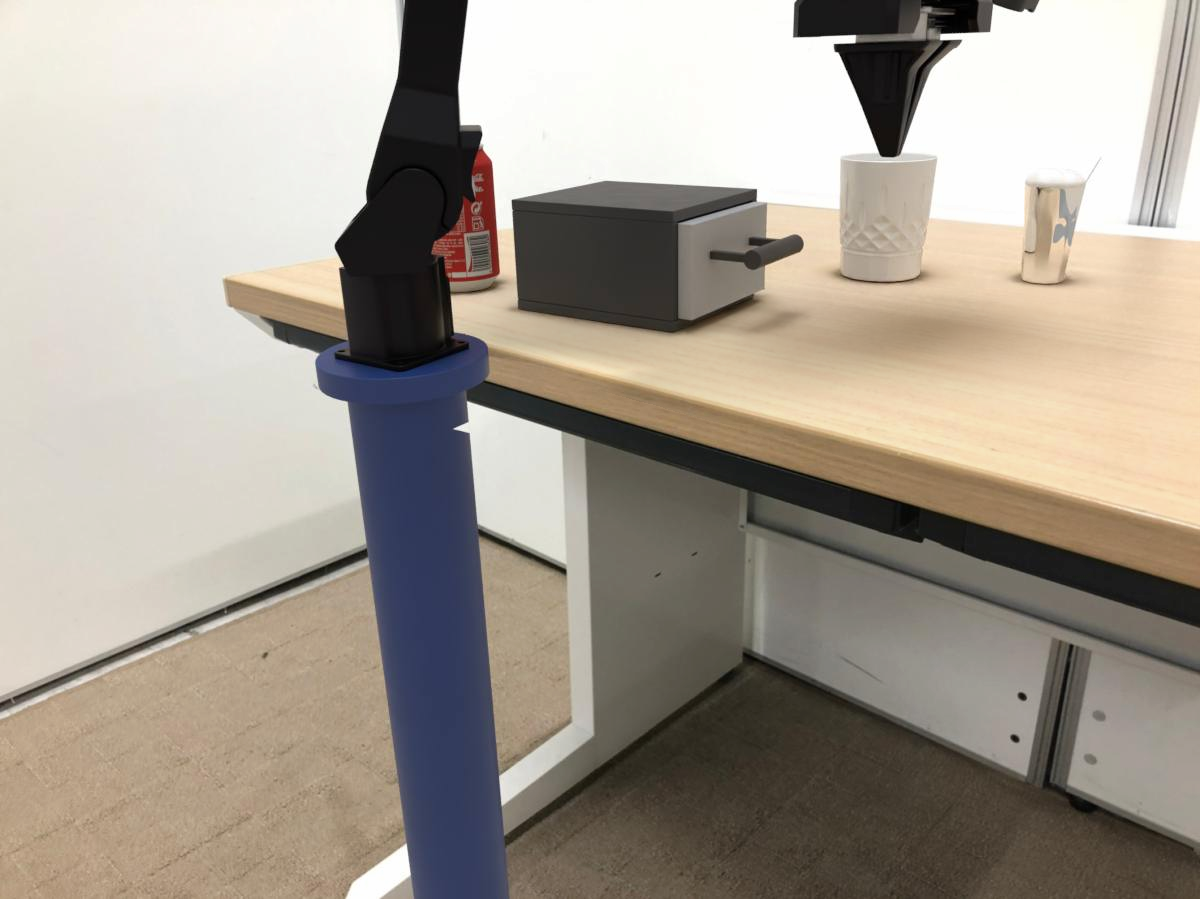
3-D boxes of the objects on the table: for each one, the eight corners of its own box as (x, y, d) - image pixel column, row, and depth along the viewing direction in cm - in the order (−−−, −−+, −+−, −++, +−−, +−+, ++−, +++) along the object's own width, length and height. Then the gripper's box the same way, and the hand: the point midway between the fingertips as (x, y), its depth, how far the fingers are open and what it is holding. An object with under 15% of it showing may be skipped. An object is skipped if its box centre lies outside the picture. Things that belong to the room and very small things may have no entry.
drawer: (813, 294, 77) (818, 205, 74) (744, 328, 68) (747, 228, 66) (625, 272, 86) (623, 193, 84) (544, 299, 78) (539, 212, 75)
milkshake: (1077, 288, 80) (1097, 160, 76) (1007, 282, 82) (1023, 158, 78) (1085, 277, 83) (1104, 154, 79) (1018, 272, 86) (1033, 153, 82)
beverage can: (492, 275, 91) (482, 140, 87) (507, 289, 86) (498, 145, 81) (424, 282, 89) (410, 144, 85) (435, 296, 84) (421, 150, 79)
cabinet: (754, 296, 80) (757, 188, 77) (673, 332, 71) (673, 211, 68) (608, 279, 88) (605, 180, 85) (517, 309, 79) (510, 199, 76)
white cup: (942, 272, 87) (954, 154, 83) (899, 288, 82) (910, 163, 78) (861, 261, 92) (869, 150, 88) (816, 276, 87) (822, 158, 83)
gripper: (1009, -159, 47) (973, 178, 53) (1091, -116, 61) (1055, 146, 67) (794, -129, 53) (783, 170, 59) (913, -96, 67) (895, 143, 73)
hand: (890, 156), depth 64 cm, fingers closed
